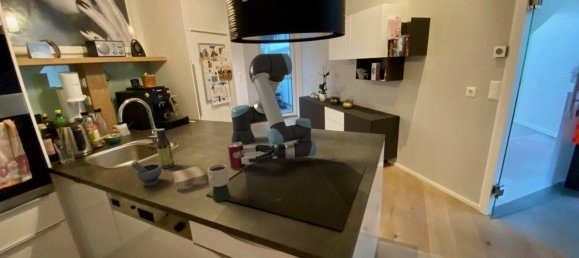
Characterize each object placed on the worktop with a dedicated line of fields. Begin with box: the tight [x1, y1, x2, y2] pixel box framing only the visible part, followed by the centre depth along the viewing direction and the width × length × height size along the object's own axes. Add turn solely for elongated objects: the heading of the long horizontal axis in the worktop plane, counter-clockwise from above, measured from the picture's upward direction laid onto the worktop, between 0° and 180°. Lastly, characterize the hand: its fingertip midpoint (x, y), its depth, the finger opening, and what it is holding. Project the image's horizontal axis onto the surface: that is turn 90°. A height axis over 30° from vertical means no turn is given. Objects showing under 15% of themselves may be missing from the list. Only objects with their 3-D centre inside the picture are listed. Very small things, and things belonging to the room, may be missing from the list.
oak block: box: [171, 165, 208, 192], centre depth 105 cm, size 12×12×4 cm
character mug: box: [207, 163, 231, 202], centre depth 90 cm, size 11×7×13 cm, turn 161°
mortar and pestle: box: [130, 160, 162, 187], centre depth 105 cm, size 11×9×12 cm
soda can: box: [227, 142, 246, 171], centre depth 117 cm, size 7×7×12 cm
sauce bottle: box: [155, 128, 175, 169], centre depth 121 cm, size 6×6×20 cm
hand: (242, 155), depth 116 cm, fingers open, 13 cm apart
